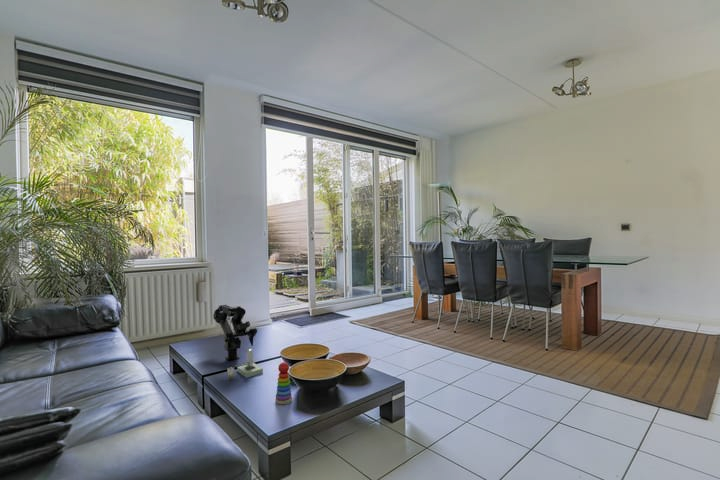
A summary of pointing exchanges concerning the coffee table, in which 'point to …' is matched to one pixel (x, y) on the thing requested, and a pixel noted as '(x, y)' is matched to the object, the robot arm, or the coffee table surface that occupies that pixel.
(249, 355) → the tall pin
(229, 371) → the short pin
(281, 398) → the stacking toy
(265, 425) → the coffee table surface
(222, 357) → the coffee table surface
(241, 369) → the hole plate
